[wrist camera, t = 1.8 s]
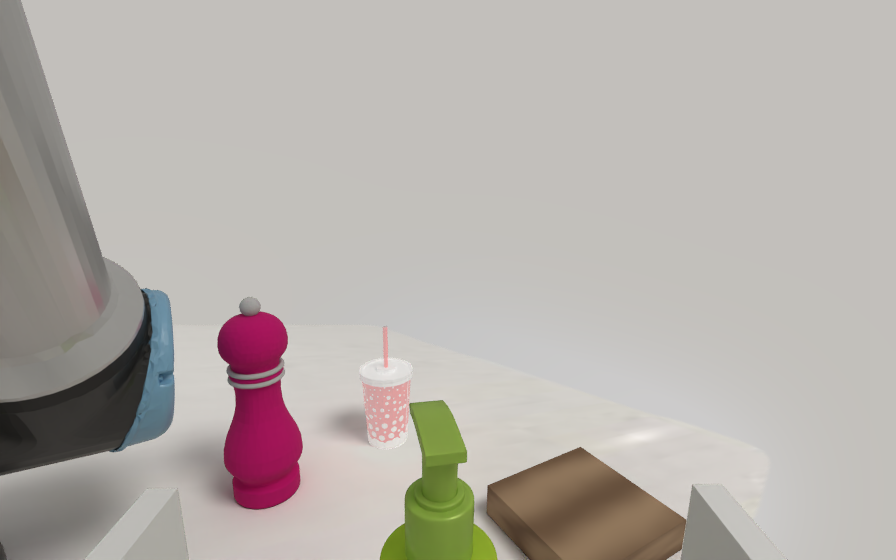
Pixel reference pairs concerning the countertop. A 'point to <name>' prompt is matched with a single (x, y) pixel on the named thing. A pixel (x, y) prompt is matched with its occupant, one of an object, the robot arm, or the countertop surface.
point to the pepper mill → (259, 410)
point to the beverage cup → (386, 398)
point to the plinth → (583, 513)
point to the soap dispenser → (438, 497)
